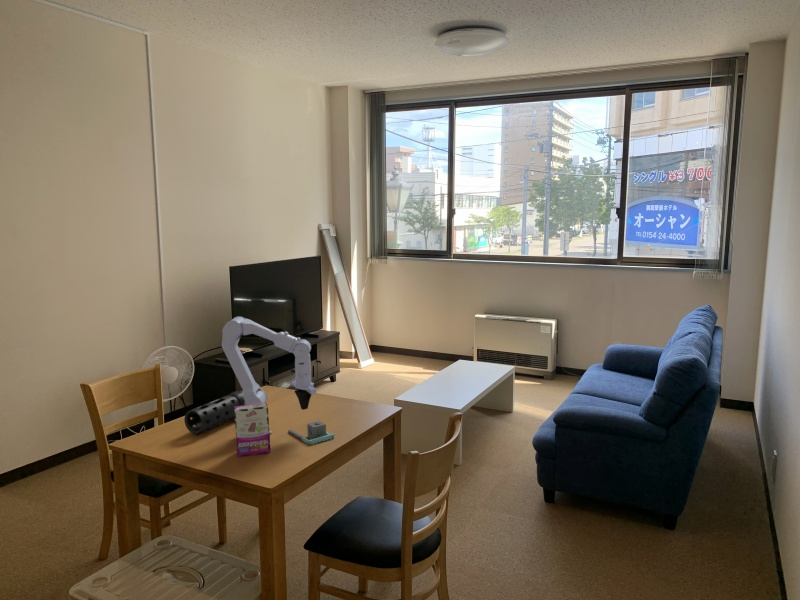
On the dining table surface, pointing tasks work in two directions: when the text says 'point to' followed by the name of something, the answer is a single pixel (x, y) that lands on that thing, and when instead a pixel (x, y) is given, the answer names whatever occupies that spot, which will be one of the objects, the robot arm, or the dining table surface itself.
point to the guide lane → (312, 441)
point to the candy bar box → (252, 429)
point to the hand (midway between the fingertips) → (304, 408)
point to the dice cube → (316, 429)
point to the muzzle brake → (213, 413)
